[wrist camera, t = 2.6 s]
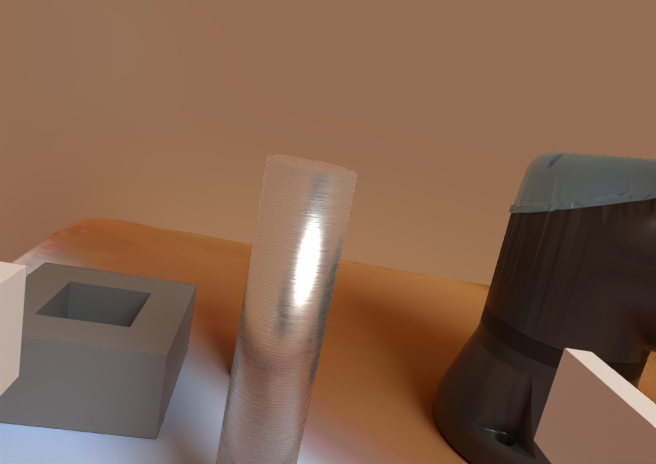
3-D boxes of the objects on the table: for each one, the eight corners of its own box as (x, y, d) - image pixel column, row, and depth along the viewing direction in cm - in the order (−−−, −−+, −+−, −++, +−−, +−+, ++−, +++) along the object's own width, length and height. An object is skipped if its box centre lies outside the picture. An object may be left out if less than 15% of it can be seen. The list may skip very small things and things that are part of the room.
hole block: (187, 349, 45) (196, 284, 44) (156, 439, 33) (167, 355, 32) (40, 330, 43) (45, 262, 42) (-46, 417, 32) (-44, 328, 30)
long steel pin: (279, 511, 30) (351, 166, 25) (279, 573, 26) (364, 180, 21) (208, 504, 29) (267, 151, 24) (198, 567, 25) (266, 163, 21)
